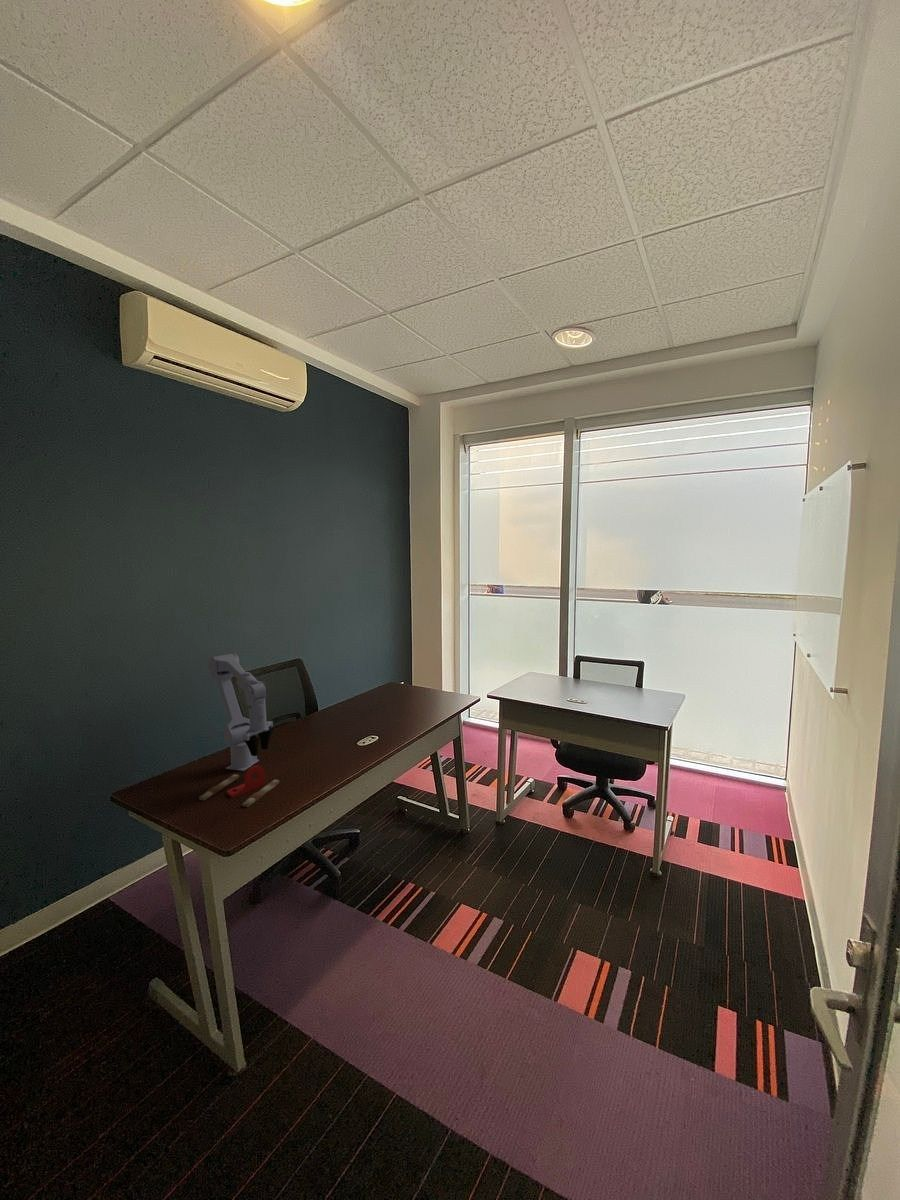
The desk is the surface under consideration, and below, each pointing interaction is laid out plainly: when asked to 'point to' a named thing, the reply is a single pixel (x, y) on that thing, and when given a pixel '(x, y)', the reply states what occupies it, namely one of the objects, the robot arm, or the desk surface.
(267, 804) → the desk surface
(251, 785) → the bracket
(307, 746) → the desk surface
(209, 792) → the guide track
